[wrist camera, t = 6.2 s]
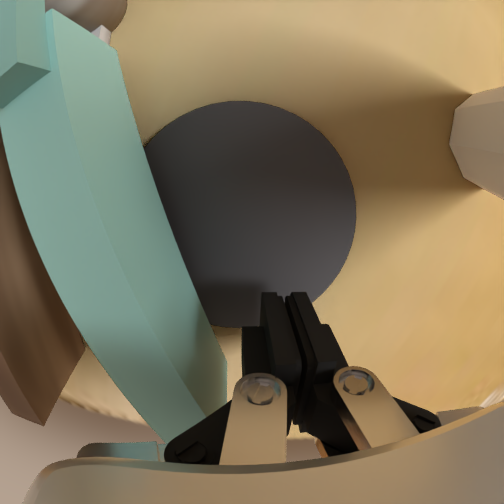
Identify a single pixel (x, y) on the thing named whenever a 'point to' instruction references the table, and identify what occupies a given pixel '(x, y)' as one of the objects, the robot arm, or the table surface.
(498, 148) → the white bottle
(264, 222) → the dark grey disc
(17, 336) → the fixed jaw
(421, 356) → the table surface
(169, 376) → the bar
